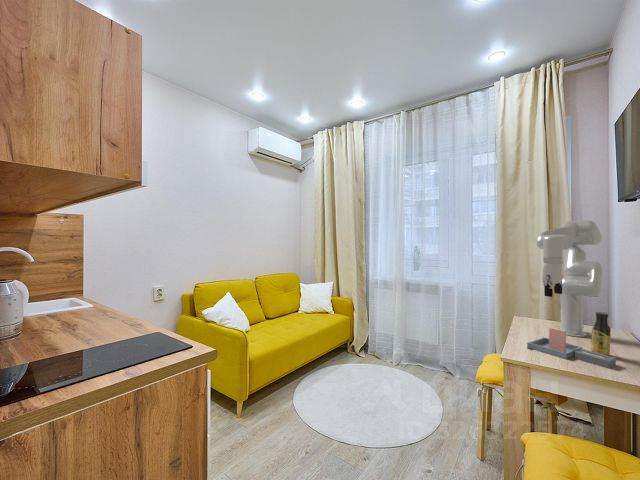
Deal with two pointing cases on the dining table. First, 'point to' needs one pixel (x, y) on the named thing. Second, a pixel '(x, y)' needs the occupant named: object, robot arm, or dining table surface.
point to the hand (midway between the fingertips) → (553, 294)
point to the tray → (543, 347)
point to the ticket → (557, 339)
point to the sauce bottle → (601, 335)
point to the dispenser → (595, 358)
